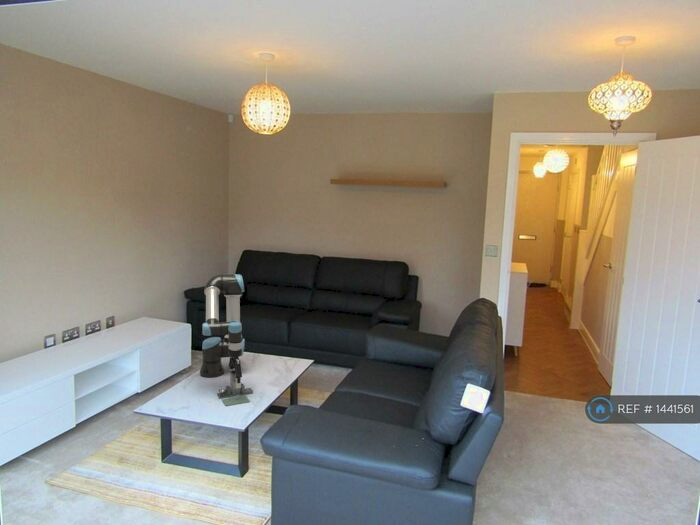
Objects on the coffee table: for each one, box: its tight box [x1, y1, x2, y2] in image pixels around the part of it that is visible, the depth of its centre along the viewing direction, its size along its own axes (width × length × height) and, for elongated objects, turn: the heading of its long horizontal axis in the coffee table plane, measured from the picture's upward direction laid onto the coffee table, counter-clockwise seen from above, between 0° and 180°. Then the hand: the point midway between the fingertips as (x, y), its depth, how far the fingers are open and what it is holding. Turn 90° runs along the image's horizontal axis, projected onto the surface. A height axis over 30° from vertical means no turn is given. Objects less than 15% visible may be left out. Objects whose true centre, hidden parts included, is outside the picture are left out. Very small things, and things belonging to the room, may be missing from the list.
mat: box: [221, 394, 251, 407], centre depth 281 cm, size 9×14×1 cm, turn 118°
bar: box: [229, 370, 241, 398], centre depth 289 cm, size 5×5×14 cm
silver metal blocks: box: [216, 383, 254, 400], centre depth 289 cm, size 5×20×6 cm, turn 118°
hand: (235, 383), depth 288 cm, fingers open, 13 cm apart
